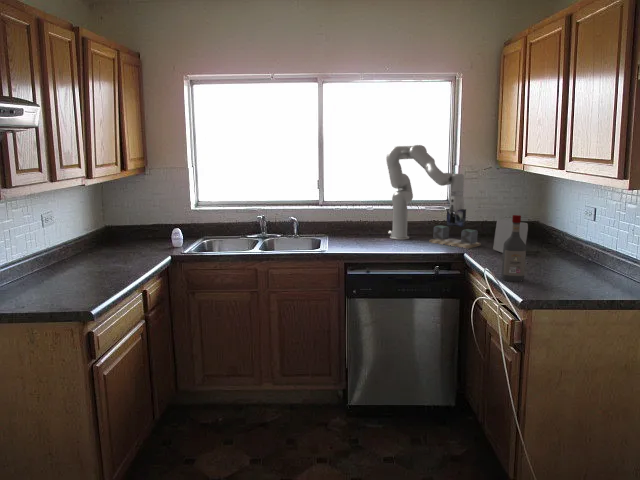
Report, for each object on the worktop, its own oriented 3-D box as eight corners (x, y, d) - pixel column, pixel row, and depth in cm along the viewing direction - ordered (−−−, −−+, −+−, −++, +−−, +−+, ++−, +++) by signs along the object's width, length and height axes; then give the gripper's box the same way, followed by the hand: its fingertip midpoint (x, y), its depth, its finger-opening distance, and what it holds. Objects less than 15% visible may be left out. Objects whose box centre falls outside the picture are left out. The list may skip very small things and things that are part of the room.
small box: (445, 225, 340) (446, 209, 338) (449, 224, 345) (449, 208, 343) (462, 227, 334) (463, 210, 332) (465, 225, 340) (466, 209, 338)
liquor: (524, 282, 249) (529, 217, 244) (503, 281, 251) (508, 216, 245) (520, 277, 258) (525, 214, 253) (500, 276, 260) (504, 214, 254)
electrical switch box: (528, 255, 318) (533, 221, 317) (516, 255, 308) (521, 220, 307) (505, 251, 329) (509, 218, 327) (492, 251, 319) (497, 217, 317)
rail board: (429, 242, 347) (429, 226, 345) (441, 239, 357) (442, 224, 355) (468, 248, 327) (469, 232, 326) (480, 245, 337) (481, 229, 335)
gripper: (454, 195, 328) (453, 224, 331) (469, 193, 340) (468, 221, 343) (443, 194, 333) (442, 223, 336) (459, 192, 345) (457, 220, 348)
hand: (455, 222), depth 339 cm, fingers closed on small box, 7 cm apart
